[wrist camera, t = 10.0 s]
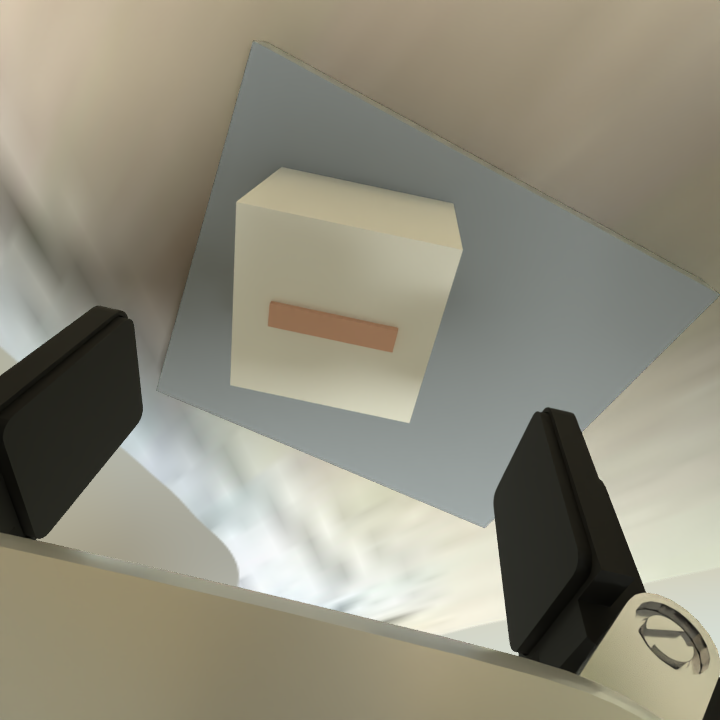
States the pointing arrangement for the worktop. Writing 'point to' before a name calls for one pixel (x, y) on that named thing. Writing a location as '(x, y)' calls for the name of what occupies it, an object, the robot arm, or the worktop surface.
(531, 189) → the base plate
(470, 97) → the worktop surface
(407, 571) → the worktop surface
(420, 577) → the worktop surface
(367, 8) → the worktop surface
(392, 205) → the white striped cube
